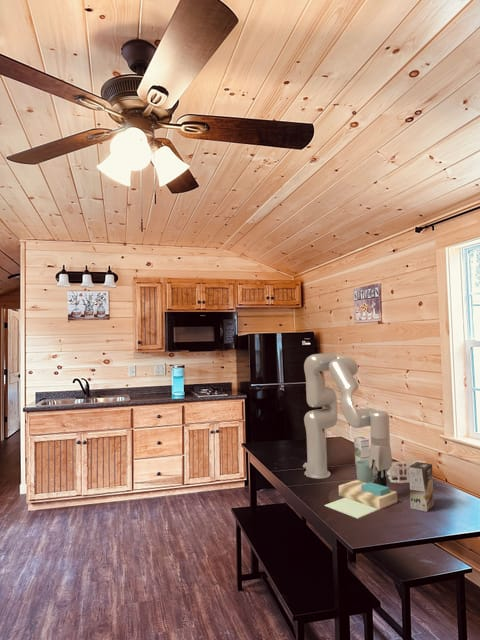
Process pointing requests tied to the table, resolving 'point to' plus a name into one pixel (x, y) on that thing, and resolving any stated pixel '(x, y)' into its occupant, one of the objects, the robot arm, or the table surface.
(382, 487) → the teal flat block
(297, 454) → the table surface
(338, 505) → the mat
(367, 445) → the syrup box
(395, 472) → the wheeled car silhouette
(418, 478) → the coffee box
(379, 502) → the deck
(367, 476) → the cup
